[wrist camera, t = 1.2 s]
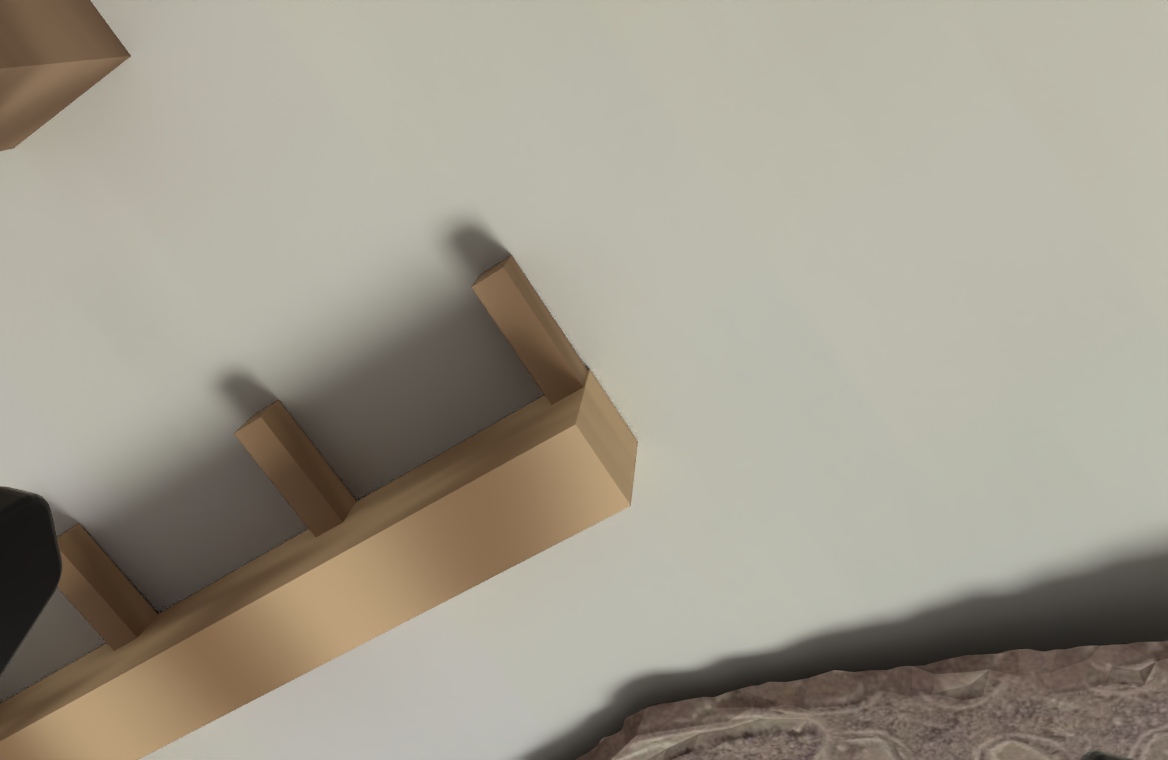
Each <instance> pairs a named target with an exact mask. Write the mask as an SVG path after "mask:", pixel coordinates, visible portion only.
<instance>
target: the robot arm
mask: <svg viewBox="0 0 1168 760" xmlns="http://www.w3.org/2000/svg"><path fill="white" fill-rule="evenodd" d="M61 573H62V557H61V553H60V549H59V544H58V540H57V536H56V531H55V527H54V523H53V518H52V514H51V510H50V507H49V504H48V503H47V501H46V500H45V499H44V498H43V497H42V496H40V495H38V494H35V493H30V492H26V491H22V490H18V489H14V488H10V487H1V486H0V676H1V675H2V673H3V671H4V670H5V668H6V667H7V665H8V664H9V662H10V661H11V659H12V657H13V656H14V654H15V653H16V651H17V650H18V648H19V647H20V645H21V643H22V642H23V640H24V639H25V637H26V636H27V634H28V632H29V631H30V629H31V628H32V626H33V625H34V623H35V622H36V620H37V618H38V617H39V615H40V614H41V612H42V611H43V609H44V608H45V606H46V604H47V603H48V601H49V600H50V598H51V597H52V595H53V593H54V592H55V590H56V588H57V586H58V583H59V581H60V578H61ZM1080 760H1135V759H1131V758H1127V757H1123V756H1119V755H1115V754H1110V753H1106V752H1102V751H1098V750H1093V751H1089V752H1087V753H1086V754H1084V755H1083V756H1082V757H1081V759H1080Z"/></svg>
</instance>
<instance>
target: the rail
mask: <svg viewBox="0 0 1168 760" xmlns="http://www.w3.org/2000/svg"><path fill="white" fill-rule="evenodd" d="M472 289H473V290H474V292H475V293H476V295H477V296H478V298H479V299H480V301H481V302H482V304H483V305H484V306H485V308H486V309H487V311H488V312H489V314H490V315H491V317H492V318H493V320H494V321H495V323H496V324H497V326H498V327H499V328H500V330H501V331H502V333H503V334H504V336H505V337H506V339H507V340H508V342H509V343H510V345H511V346H512V348H513V349H514V350H515V352H516V353H517V355H518V356H519V358H520V359H521V361H522V362H523V364H524V365H525V367H526V368H527V370H528V371H529V372H530V374H531V375H532V377H533V378H534V380H535V381H536V383H537V384H538V386H539V387H540V389H541V390H542V392H543V393H544V394H545V395H544V396H542V397H540V398H539V399H537V400H535V401H533V402H531V403H530V404H528V405H526V406H524V407H523V408H521V409H519V410H517V411H516V412H514V413H512V414H510V415H509V416H507V417H505V418H503V419H501V420H500V421H498V422H496V423H494V424H493V425H491V426H489V427H487V428H486V429H484V430H482V431H480V432H478V433H477V434H475V435H473V436H471V437H470V438H468V439H466V440H464V441H463V442H461V443H459V444H457V445H456V446H454V447H452V448H450V449H448V450H447V451H445V452H443V453H441V454H440V455H438V456H436V457H434V458H433V459H431V460H429V461H427V462H426V463H424V464H422V465H420V466H418V467H417V468H415V469H413V470H411V471H410V472H408V473H406V474H404V475H403V476H401V477H399V478H397V479H396V480H394V481H392V482H390V483H388V484H387V485H385V486H383V487H381V488H380V489H378V490H376V491H374V492H373V493H371V494H369V495H367V496H366V497H364V498H362V499H360V500H358V501H356V500H355V499H354V497H353V496H352V495H351V493H350V492H349V491H348V490H347V488H346V487H345V486H344V484H343V483H342V482H341V480H340V479H339V478H338V477H337V475H336V474H335V473H334V471H333V470H332V469H331V467H330V466H329V465H328V464H327V462H326V461H325V460H324V458H323V457H322V456H321V454H320V453H319V452H318V451H317V449H316V448H315V447H314V445H313V444H312V443H311V441H310V440H309V439H308V438H307V436H306V435H305V434H304V432H303V431H302V430H301V428H300V427H299V426H298V425H297V423H296V422H295V421H294V419H293V418H292V417H291V415H290V414H289V413H288V412H287V410H286V409H285V408H284V406H283V405H282V404H281V402H280V401H279V400H277V401H276V402H274V403H272V404H271V405H269V406H268V407H266V408H264V409H263V410H261V411H260V412H258V413H256V414H255V415H253V416H252V417H251V418H250V419H249V420H248V421H247V422H246V423H244V424H243V425H242V426H241V427H240V428H239V429H238V430H237V431H236V432H235V433H234V435H235V436H236V437H237V438H238V440H239V441H240V442H241V444H242V445H243V446H244V447H245V449H246V450H247V451H248V452H249V454H250V455H251V456H252V457H253V459H254V460H255V461H256V462H257V464H258V465H259V466H260V468H261V469H262V470H263V471H264V473H265V474H266V475H267V476H268V478H269V479H270V480H271V481H272V483H273V484H274V485H275V487H276V488H277V489H278V490H279V492H280V493H281V494H282V495H283V497H284V498H285V499H286V500H287V502H288V503H289V504H290V505H291V507H292V508H293V509H294V511H295V512H296V513H297V514H298V516H299V517H300V518H301V519H302V521H303V522H304V523H305V524H306V526H307V527H308V528H309V529H307V530H305V531H304V532H302V533H300V534H298V535H297V536H295V537H293V538H291V539H290V540H288V541H286V542H284V543H283V544H281V545H279V546H277V547H275V548H274V549H272V550H270V551H268V552H267V553H265V554H263V555H261V556H260V557H258V558H256V559H254V560H253V561H251V562H249V563H247V564H245V565H244V566H242V567H240V568H238V569H237V570H235V571H233V572H231V573H230V574H228V575H226V576H224V577H222V578H221V579H219V580H217V581H215V582H214V583H212V584H210V585H208V586H207V587H205V588H203V589H201V590H200V591H198V592H196V593H194V594H192V595H191V596H189V597H187V598H185V599H184V600H182V601H180V602H178V603H177V604H175V605H173V606H171V607H170V608H168V609H166V610H164V611H162V612H161V613H159V614H157V613H156V612H155V610H154V609H153V608H152V607H151V606H150V605H149V603H148V602H147V601H146V600H145V599H144V598H143V597H142V595H141V594H140V593H139V592H138V591H137V590H136V588H135V587H134V586H133V585H132V584H131V583H130V582H129V580H128V579H127V578H126V577H125V576H124V575H123V573H122V572H121V571H120V570H119V569H118V568H117V567H116V565H115V564H114V563H113V562H112V561H111V560H110V559H109V557H108V556H107V555H106V554H105V553H104V552H103V550H102V549H101V548H100V547H99V546H98V545H97V544H96V542H95V541H94V540H93V539H92V538H91V537H90V535H89V534H88V533H87V532H86V531H85V530H84V529H83V527H82V526H81V525H80V524H77V525H76V526H74V527H72V528H71V529H69V530H67V531H66V532H64V533H63V534H61V535H59V536H58V537H57V540H58V544H59V549H60V553H61V557H62V573H61V578H60V581H59V583H58V586H57V588H58V589H59V590H60V591H61V592H62V593H63V594H64V595H65V596H66V598H67V599H68V600H69V601H70V602H71V603H72V604H73V605H74V607H75V608H76V609H77V610H78V611H79V612H80V613H81V614H82V615H83V617H84V618H85V619H86V620H87V621H88V622H89V623H90V624H91V626H92V627H93V628H94V629H95V630H96V631H97V632H98V633H99V635H100V636H101V637H102V638H103V639H104V640H105V641H106V642H107V643H106V644H104V645H102V646H101V647H99V648H97V649H95V650H94V651H92V652H90V653H88V654H87V655H85V656H83V657H81V658H79V659H78V660H76V661H74V662H72V663H71V664H69V665H67V666H65V667H64V668H62V669H60V670H58V671H57V672H55V673H53V674H51V675H49V676H48V677H46V678H44V679H42V680H41V681H39V682H37V683H35V684H34V685H32V686H30V687H28V688H27V689H25V690H23V691H21V692H19V693H18V694H16V695H14V696H12V697H11V698H9V699H7V700H5V701H4V702H2V703H0V760H138V759H140V758H142V757H144V756H146V755H148V754H150V753H152V752H154V751H156V750H158V749H160V748H162V747H163V746H165V745H167V744H169V743H171V742H173V741H175V740H177V739H179V738H181V737H183V736H185V735H187V734H189V733H191V732H193V731H195V730H196V729H198V728H200V727H202V726H204V725H206V724H208V723H210V722H212V721H214V720H216V719H218V718H220V717H222V716H224V715H226V714H228V713H229V712H231V711H233V710H235V709H237V708H239V707H241V706H243V705H245V704H247V703H249V702H251V701H253V700H255V699H257V698H259V697H261V696H262V695H264V694H266V693H268V692H270V691H272V690H274V689H276V688H278V687H280V686H282V685H284V684H286V683H288V682H290V681H292V680H294V679H295V678H297V677H299V676H301V675H303V674H305V673H307V672H309V671H311V670H313V669H315V668H317V667H319V666H321V665H323V664H325V663H327V662H328V661H330V660H332V659H334V658H336V657H338V656H340V655H342V654H344V653H346V652H348V651H350V650H352V649H354V648H356V647H358V646H360V645H361V644H363V643H365V642H367V641H369V640H371V639H373V638H375V637H377V636H379V635H381V634H383V633H385V632H387V631H389V630H391V629H393V628H394V627H396V626H398V625H400V624H402V623H404V622H406V621H408V620H410V619H412V618H414V617H416V616H418V615H420V614H422V613H424V612H426V611H427V610H429V609H431V608H433V607H435V606H437V605H439V604H441V603H443V602H445V601H447V600H449V599H451V598H453V597H455V596H457V595H459V594H460V593H462V592H464V591H466V590H468V589H470V588H472V587H474V586H476V585H478V584H480V583H482V582H484V581H486V580H488V579H490V578H492V577H493V576H495V575H497V574H499V573H501V572H503V571H505V570H507V569H509V568H511V567H513V566H515V565H517V564H519V563H521V562H523V561H525V560H526V559H528V558H530V557H532V556H534V555H536V554H538V553H540V552H542V551H544V550H546V549H548V548H550V547H552V546H554V545H556V544H558V543H559V542H561V541H563V540H565V539H567V538H569V537H571V536H573V535H575V534H577V533H579V532H581V531H583V530H585V529H587V528H589V527H591V526H592V525H594V524H596V523H598V522H600V521H602V520H604V519H606V518H608V517H610V516H612V515H614V514H616V513H618V512H620V511H622V510H624V509H625V508H627V507H629V506H631V498H632V489H633V481H634V472H635V463H636V454H637V445H638V441H637V440H636V438H635V437H634V435H633V434H632V432H631V431H630V429H629V428H628V426H627V425H626V423H625V422H624V420H623V419H622V417H621V416H620V414H619V413H618V411H617V410H616V408H615V406H614V405H613V403H612V402H611V400H610V399H609V397H608V396H607V394H606V393H605V391H604V390H603V388H602V387H601V385H600V384H599V382H598V381H597V379H596V378H595V376H594V375H593V373H592V372H591V370H587V368H586V367H585V365H584V364H583V362H582V361H581V359H580V358H579V356H578V355H577V353H576V352H575V350H574V349H573V347H572V346H571V344H570V343H569V341H568V340H567V338H566V336H565V335H564V333H563V332H562V330H561V329H560V327H559V326H558V324H557V323H556V321H555V320H554V318H553V317H552V315H551V314H550V312H549V311H548V309H547V308H546V306H545V305H544V303H543V302H542V300H541V299H540V297H539V296H538V294H537V293H536V291H535V290H534V288H533V287H532V285H531V284H530V282H529V281H528V279H527V278H526V276H525V275H524V273H523V272H522V270H521V269H520V267H519V266H518V264H517V263H516V261H515V260H514V258H513V257H512V255H511V256H510V257H508V258H507V259H505V260H503V261H502V262H500V263H499V264H497V265H495V266H494V267H492V268H490V269H489V270H487V271H486V272H484V273H482V274H481V275H480V276H479V278H478V279H477V280H476V282H475V283H474V284H473V286H472Z"/></svg>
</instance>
